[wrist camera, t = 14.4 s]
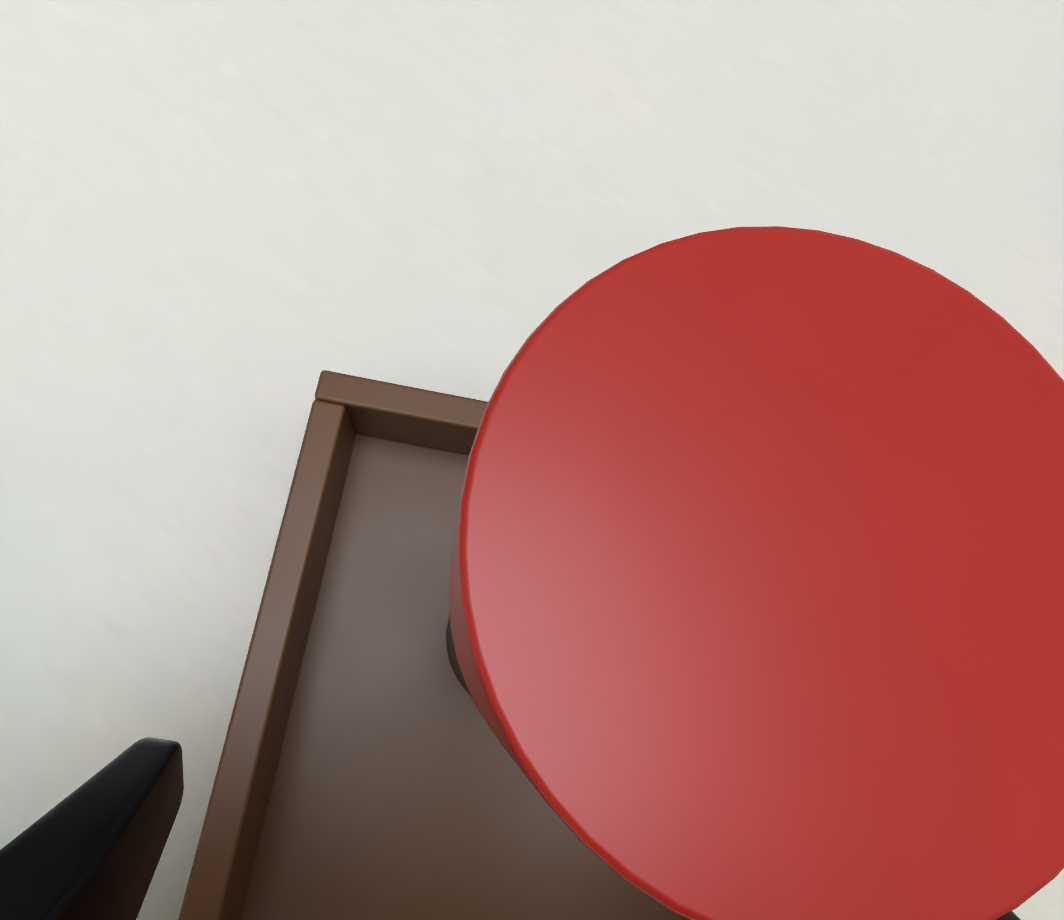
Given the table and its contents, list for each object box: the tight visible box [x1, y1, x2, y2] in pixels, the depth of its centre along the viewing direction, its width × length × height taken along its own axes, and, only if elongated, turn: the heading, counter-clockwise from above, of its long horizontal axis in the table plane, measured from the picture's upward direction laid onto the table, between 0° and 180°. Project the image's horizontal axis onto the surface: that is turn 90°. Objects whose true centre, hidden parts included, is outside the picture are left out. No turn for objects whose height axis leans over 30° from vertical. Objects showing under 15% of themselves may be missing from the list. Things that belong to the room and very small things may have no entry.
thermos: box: [446, 226, 1064, 920], centre depth 10 cm, size 4×4×14 cm
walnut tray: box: [179, 371, 690, 920], centre depth 15 cm, size 15×11×2 cm
